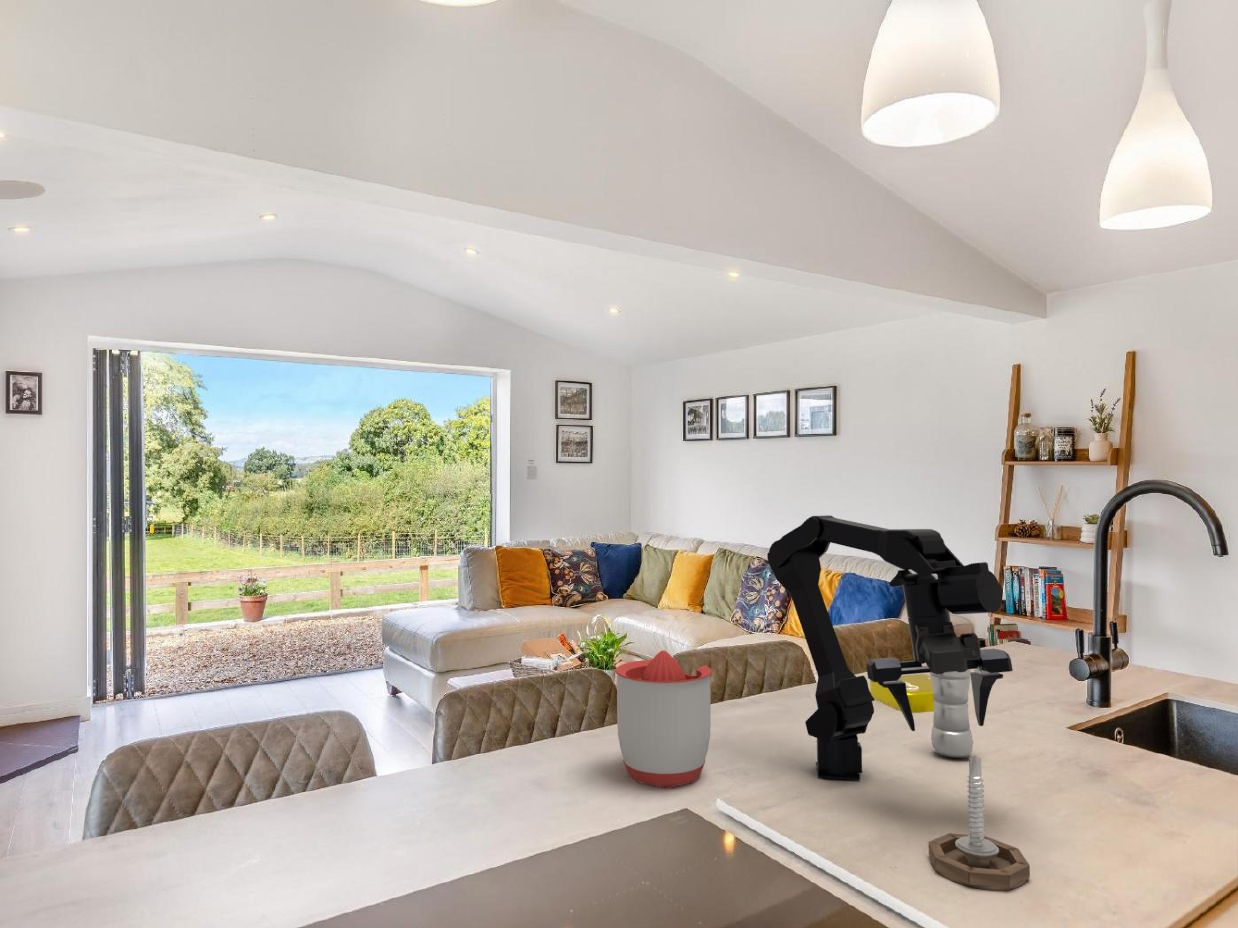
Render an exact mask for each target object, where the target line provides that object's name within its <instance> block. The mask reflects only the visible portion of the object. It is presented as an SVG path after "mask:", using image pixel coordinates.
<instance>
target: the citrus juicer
mask: <svg viewBox="0 0 1238 928" xmlns="http://www.w3.org/2000/svg"><path fill="white" fill-rule="evenodd" d="M614 672H615V674H616V691H617V692H616V702H617V703H616V709H617V710H616V715H617V717H616V720H617V722H616V723H617V725H616V726H617V737H618V742H619V748H620V752H621V754H622V755H621V756H622V758H623V760H622V761H623V764H624V766H625V769H626V772H627V774H628V775H629V777H630V778H631V779H632V780H634V781H636V782H638V783H642V784H645V785H651V786H659V787H662V788H664V789H666V788H667V789H668V788H672V787H674V786H681V785H686V784H689V783H692V782H694V781H696V780H698V778H700V776H701V773H702V771H703V769H704V766H705V764H706V757H707V754H708V750H709V747H710V746H709V745H710V740H711V727H712V726H711V725H712V723H711V722H712V721H711V719H712V718H711V715H712V714H711V675H712V674H713V671H712V669H711V668H710V667H709V666H707V665H705V664H703V665H702V666H700V667H699V668H697V669H696V675H690V674H686V673H685V672H684V671H683V669H682V667H681V666H680V664H679V661H678V659H675V658H674V657H673V656H672V655H671V654H670V653H669V652H668V651H666V650H660V651H659V652H658V653H657V654H655V656H654V657H653V658H652V659H642V660H635V661H629V662H625V663H622V664H620V665H618V666H617V667H616V668H615V671H614Z"/></svg>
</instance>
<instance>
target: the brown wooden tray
mask: <svg viewBox="0 0 1238 928" xmlns="http://www.w3.org/2000/svg"><path fill="white" fill-rule="evenodd" d="M968 835H969V834H966V833H965V834H964V833H963V834H962V833H952V832H951V833H950V832H949V833H946V834H944V835H941V836H939V837H937V838H934V839H932V840H930V841H928V855H929V857H930V864H931V866H932V868H933V869H934V871H936V872H937V873H938V874H939V875H941V876H942V877H944V878H946V879H947V880H950V881H953V882H954V883H957V884H959V885H962V886H965V887H970V888H973V889H978V890H985V891H1000V892H1001V891H1009V890H1015V889H1019V888H1021V887H1022V886H1024V885H1025V884H1026V883H1027V881H1028V879H1029V878H1030V877H1031V876H1030V875H1031V873H1030V869H1031V868H1030V864H1029V862H1028V861H1027V859H1026V857H1025V856H1024V855H1023V853H1022V852H1021V851H1020V849H1019V848H1018V847H1015V846H1012V845H1010V844H1008V843H1005V842H1002V841H999V840H997V839H994V838H991V837H989V836H986V835H985V837H984V839H987V840H989V841H991V842H993V843H994V844H995V845H996V846H997V847H998V849H999V854H998V856H996V857H993V858H990V859H989V863H990V867H987V868H975V867H972V866H968V864H967V862H966V861H965V854H964V853H962V852H960V851H959V850H958V849H957V848H956V847H955V842H956V840H958V839H959V838H961V837H964V836H968Z"/></svg>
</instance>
